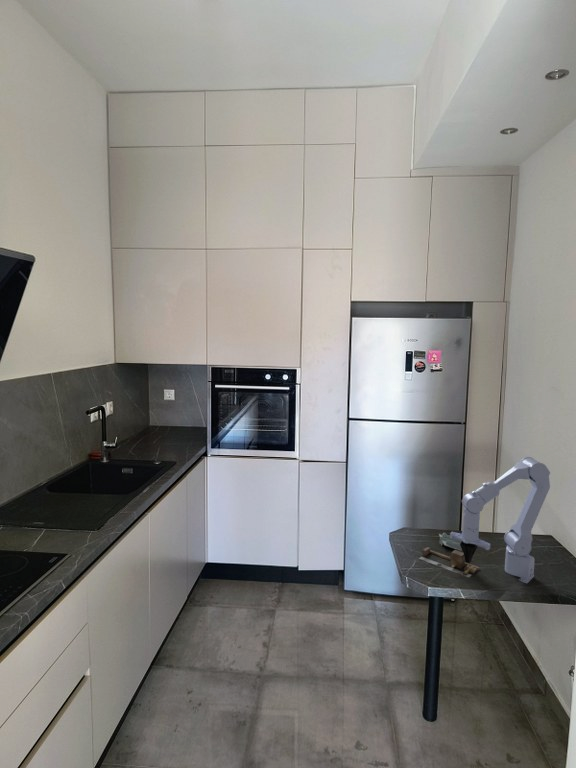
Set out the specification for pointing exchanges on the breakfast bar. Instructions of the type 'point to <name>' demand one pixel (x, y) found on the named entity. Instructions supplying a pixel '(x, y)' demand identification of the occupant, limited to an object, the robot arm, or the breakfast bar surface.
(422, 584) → the breakfast bar surface
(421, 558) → the gauge board
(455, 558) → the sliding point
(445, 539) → the metal bracket
